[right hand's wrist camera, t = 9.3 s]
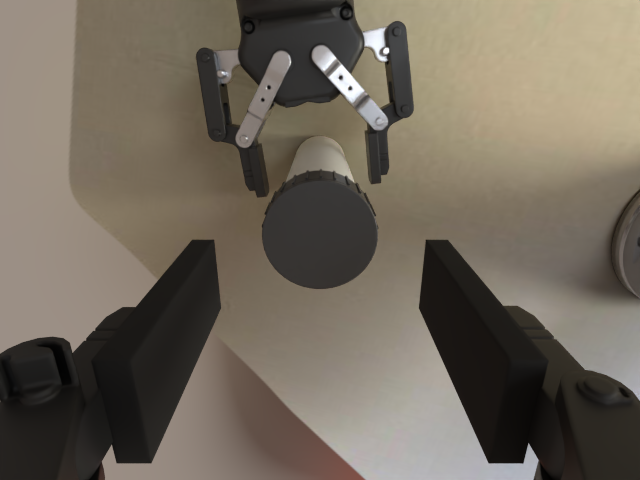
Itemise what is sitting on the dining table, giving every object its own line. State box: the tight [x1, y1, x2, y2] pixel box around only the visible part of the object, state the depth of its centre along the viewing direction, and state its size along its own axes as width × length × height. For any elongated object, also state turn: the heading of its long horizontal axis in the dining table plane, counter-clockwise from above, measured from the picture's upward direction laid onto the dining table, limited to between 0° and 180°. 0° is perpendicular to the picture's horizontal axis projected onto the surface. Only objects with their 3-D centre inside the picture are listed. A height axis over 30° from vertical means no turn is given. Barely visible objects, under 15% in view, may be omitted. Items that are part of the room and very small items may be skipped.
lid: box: [262, 169, 378, 289], centre depth 19 cm, size 5×5×2 cm
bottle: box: [285, 136, 355, 183], centre depth 27 cm, size 5×5×19 cm
